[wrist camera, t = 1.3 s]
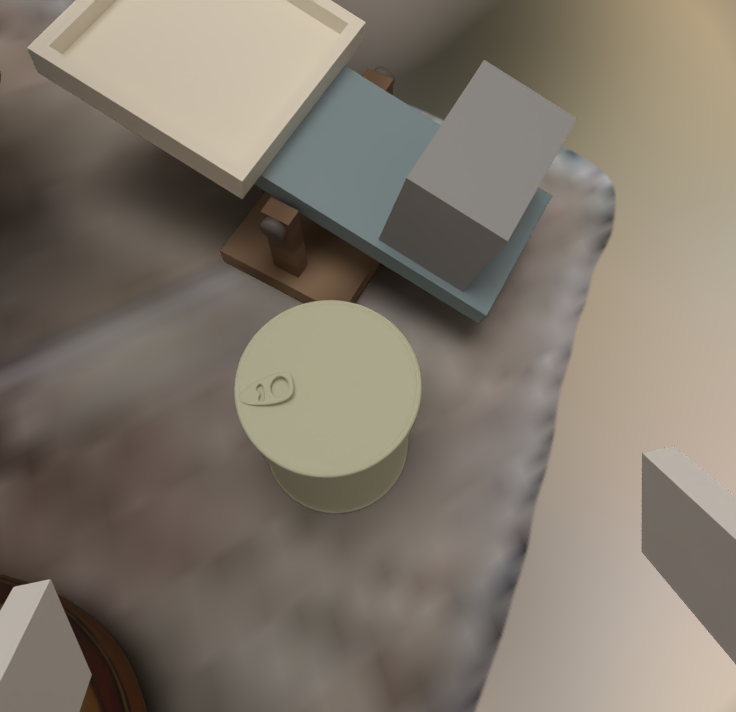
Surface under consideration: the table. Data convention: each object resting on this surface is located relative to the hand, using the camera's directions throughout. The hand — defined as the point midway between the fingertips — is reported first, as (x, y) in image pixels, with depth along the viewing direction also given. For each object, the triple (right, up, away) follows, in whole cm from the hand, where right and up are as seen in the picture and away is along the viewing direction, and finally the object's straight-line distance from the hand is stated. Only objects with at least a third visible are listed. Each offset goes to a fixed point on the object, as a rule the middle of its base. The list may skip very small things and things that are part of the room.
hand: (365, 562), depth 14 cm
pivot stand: (-2, +15, +34) cm, 37 cm away
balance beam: (-3, +19, +27) cm, 33 cm away
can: (-2, -1, +28) cm, 28 cm away
